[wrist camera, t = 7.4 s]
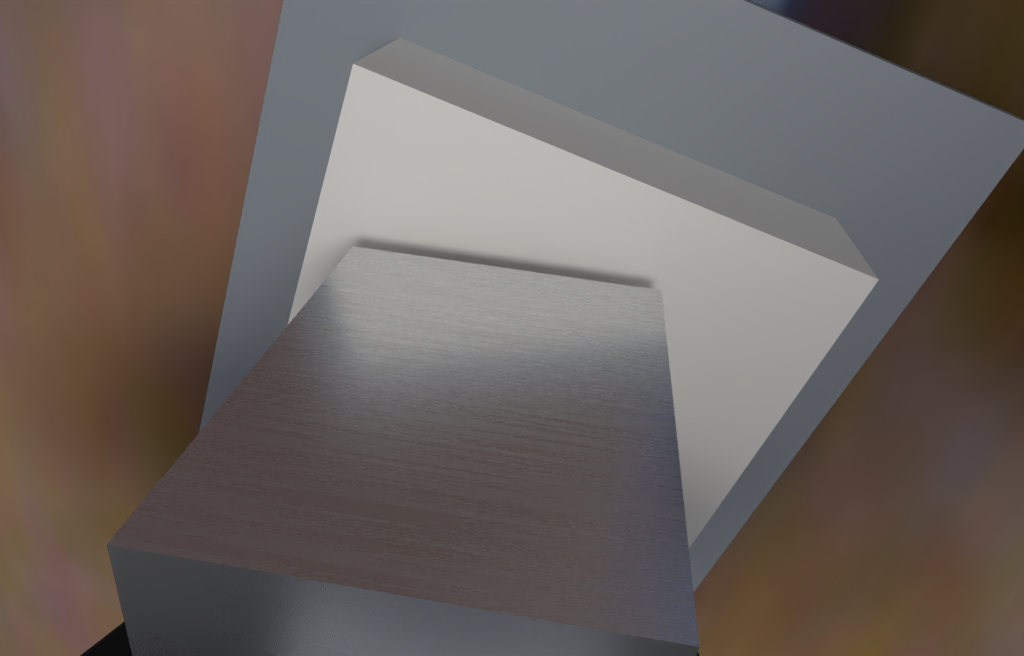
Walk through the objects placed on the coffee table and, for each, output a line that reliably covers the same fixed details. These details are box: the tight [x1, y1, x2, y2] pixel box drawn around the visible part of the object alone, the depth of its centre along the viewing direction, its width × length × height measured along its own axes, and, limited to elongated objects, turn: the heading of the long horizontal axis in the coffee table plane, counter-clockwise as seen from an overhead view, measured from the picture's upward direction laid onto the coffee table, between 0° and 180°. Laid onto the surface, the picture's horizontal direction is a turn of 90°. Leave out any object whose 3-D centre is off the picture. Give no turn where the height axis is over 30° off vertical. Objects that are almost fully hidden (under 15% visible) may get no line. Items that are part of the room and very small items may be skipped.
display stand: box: [199, 0, 1024, 592], centre depth 15 cm, size 12×16×4 cm
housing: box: [107, 246, 699, 656], centre depth 10 cm, size 4×7×6 cm, turn 174°
